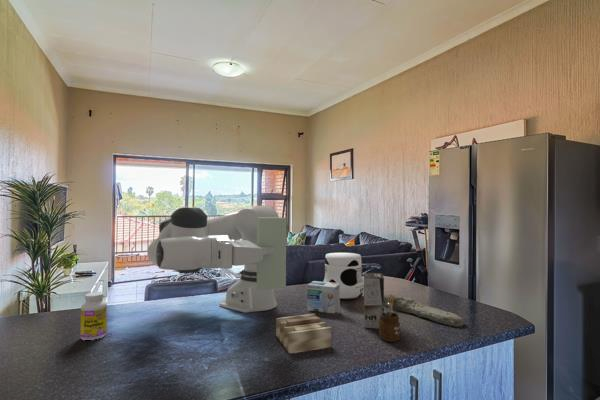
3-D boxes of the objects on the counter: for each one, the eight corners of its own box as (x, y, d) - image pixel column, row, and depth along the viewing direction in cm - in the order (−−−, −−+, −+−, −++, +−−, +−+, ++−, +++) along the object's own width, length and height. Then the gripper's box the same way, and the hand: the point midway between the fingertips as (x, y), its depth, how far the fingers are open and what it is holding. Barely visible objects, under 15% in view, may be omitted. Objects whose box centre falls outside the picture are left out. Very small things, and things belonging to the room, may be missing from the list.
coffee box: (384, 329, 106) (384, 278, 106) (363, 328, 108) (363, 277, 108) (383, 319, 115) (383, 272, 115) (364, 318, 117) (364, 271, 117)
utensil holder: (378, 340, 97) (378, 299, 98) (380, 333, 103) (380, 294, 104) (399, 343, 95) (399, 301, 96) (400, 335, 101) (400, 295, 101)
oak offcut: (296, 349, 88) (296, 330, 88) (294, 346, 90) (294, 327, 90) (321, 345, 91) (321, 327, 91) (318, 342, 92) (318, 324, 92)
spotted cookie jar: (319, 292, 151) (319, 252, 151) (357, 291, 153) (357, 251, 153) (327, 303, 133) (327, 258, 134) (369, 302, 135) (369, 257, 136)
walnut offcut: (288, 344, 91) (288, 322, 92) (286, 341, 93) (286, 319, 93) (319, 339, 94) (318, 318, 95) (316, 337, 96) (316, 316, 96)
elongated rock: (452, 334, 106) (469, 329, 112) (454, 318, 106) (470, 314, 112) (370, 302, 135) (386, 299, 140) (371, 289, 135) (387, 287, 140)
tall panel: (258, 290, 93) (258, 218, 93) (256, 288, 94) (257, 217, 95) (285, 288, 95) (286, 217, 96) (283, 286, 97) (284, 217, 97)
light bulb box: (306, 314, 121) (306, 284, 121) (312, 308, 127) (312, 280, 127) (335, 318, 117) (335, 287, 117) (340, 312, 123) (340, 282, 123)
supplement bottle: (79, 343, 96) (79, 298, 96) (81, 335, 101) (82, 292, 102) (106, 339, 99) (106, 295, 99) (107, 331, 105) (107, 290, 105)
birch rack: (289, 359, 86) (289, 333, 86) (275, 340, 98) (275, 317, 98) (332, 352, 90) (332, 328, 90) (313, 334, 102) (313, 313, 102)
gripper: (217, 257, 100) (262, 255, 105) (226, 270, 81) (281, 266, 86) (217, 236, 100) (262, 234, 105) (226, 244, 81) (281, 242, 86)
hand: (271, 249), depth 95 cm, fingers closed on tall panel, 2 cm apart
